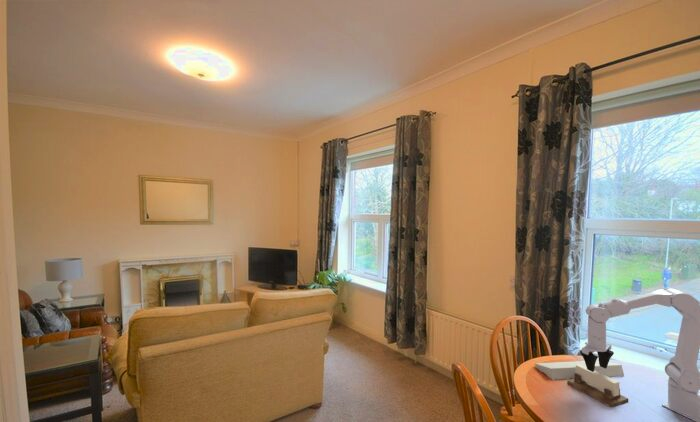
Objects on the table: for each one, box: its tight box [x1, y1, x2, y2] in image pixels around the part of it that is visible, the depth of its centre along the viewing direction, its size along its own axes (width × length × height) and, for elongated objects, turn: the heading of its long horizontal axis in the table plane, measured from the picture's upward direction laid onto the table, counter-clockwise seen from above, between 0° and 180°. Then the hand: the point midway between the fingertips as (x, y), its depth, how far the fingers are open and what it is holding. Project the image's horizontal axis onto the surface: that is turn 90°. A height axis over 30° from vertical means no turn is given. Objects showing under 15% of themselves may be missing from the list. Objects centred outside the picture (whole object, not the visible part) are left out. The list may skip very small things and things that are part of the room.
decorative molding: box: [534, 359, 625, 381], centre depth 134 cm, size 34×5×10 cm
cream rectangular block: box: [576, 364, 620, 396], centre depth 118 cm, size 14×3×5 cm, turn 19°
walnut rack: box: [566, 373, 629, 408], centre depth 118 cm, size 16×10×4 cm, turn 18°
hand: (596, 368), depth 118 cm, fingers open, 7 cm apart
